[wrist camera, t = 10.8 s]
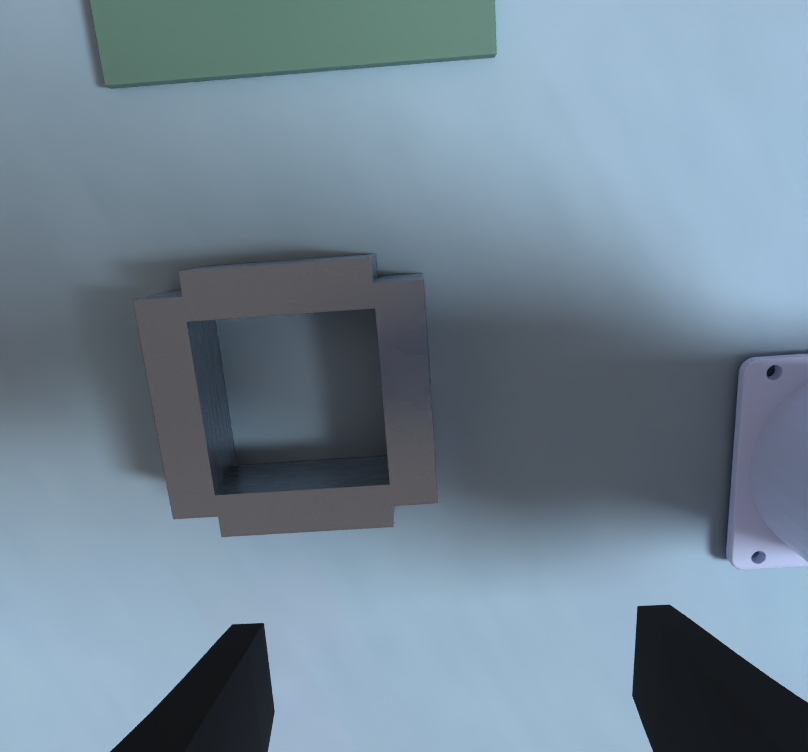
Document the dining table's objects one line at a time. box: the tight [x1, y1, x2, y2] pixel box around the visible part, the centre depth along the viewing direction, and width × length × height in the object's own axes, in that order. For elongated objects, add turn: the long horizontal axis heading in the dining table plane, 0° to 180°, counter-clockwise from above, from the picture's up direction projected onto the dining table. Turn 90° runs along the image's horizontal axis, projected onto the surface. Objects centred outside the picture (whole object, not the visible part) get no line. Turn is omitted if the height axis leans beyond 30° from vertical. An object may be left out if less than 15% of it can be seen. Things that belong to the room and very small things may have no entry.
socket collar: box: [133, 254, 438, 537], centre depth 19 cm, size 9×9×2 cm
